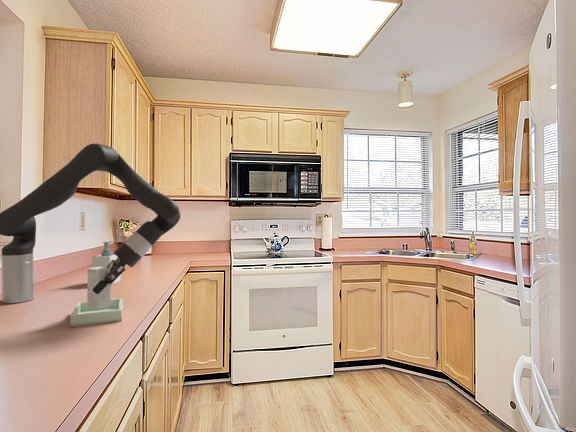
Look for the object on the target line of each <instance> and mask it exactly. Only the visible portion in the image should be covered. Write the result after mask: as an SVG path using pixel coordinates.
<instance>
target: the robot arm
mask: <svg viewBox="0 0 576 432" xmlns="http://www.w3.org/2000/svg"><path fill="white" fill-rule="evenodd" d="M96 171H98V172H99V171H100V172H106V173H109V174H110V175H112V176H113V177H115V178H116V179H118V180H119V181H120V182H121V183H122V184H123V186H124V188H125V190H126V191H127V193H128V194H130V196H131V197H132V198H134V200H136V201H137V202H139V203H140V204H141V205H142V206H144V207H145V208H146V209H150V210H151V211H152V212H153V213H155V215H157V216H156V217H154V218H153V219H152V220H151V221H150V220H147V221H146V222H143V224H142V225H141V226H140V227H139V228H138V229H136V231H135V232H134V233H132V234H131V235H130V236H128V238H126V239H125V240H124V241H123V242H122V243H121V244H120V245H119V247H117V248H116V249H115V250H114V251H113V254H115V255H116V256H117V257H118V258H117V259H116V260H111V262H110V263H109V264H108V265H107V266H106V267H107V268H109V269H108V270H107V271H106V272H105V276H104V277H103V278H102V280H101V281H100V282H99V283H98V284H97V285H96V286H95V287H94V288H93V289H92V290H93V292H95V293H96V294H99V293H100V292H101V291H102V290H103V289H104V288H105V287H106V286H107V284H108V285H109V284H111V285H113V284H112V283H113V282H114V281H115V280H116V279H117V278H118V277H119V276H120V275H121V276H122V274H123V272H125V271H126V268H125V266H126V265H127V266H128V267H130V268H134V267H135V265H136V264H138V262H139V261H140V260H141V259H143V257H144V256H145V255H146V254H147V253H148V252H149V250H150V249H151V248H152V246H154V244H156V242H157V241H158V240H160V238H161V237H162V236H163V235H165V234H166V233H168V232H169V231H170V230H172V229H173V228H174V227H175V226H176V225H177V224H178V223H179V221H180V219H181V212H180V209H179V206H178V205H177V203H176V202H175V201H174V200H173V199H172V198H170V197H168V196H167V195H165V194H163V193H161V192H160V191H159V190H158V189H156V188H155V187H154V186H153V185H152V184H151V183H148V181H146V179H144V178H143V177H142V176H141V175H140V174H138V173H137V172H136V171H135V170H134V168H132V167H131V166H130V165H129V164H128V163H127V162H126V160H125V159H124V158H123V157H122V156H121V155H120V153H118V151H117V150H116V149H115V148H113V147H112V146H110V145H109V146H108V145H107V144H106V145H105V144H101V143H95V142H94V143H90V144H87V145H86V146H85V147H83V148H82V149H81V150H80V151H79V152H78V153H77V154H76V155H75V156H74V157H72V159H71V160H70V161H69V162H68V163H67V164H66V165H64V166H63V167H62V168H61V169H59V170H58V171H57V172H56V173H55V174H53V175H52V176H51V177H49V178H47V179H46V180H45V181H44V182H42V183H41V184H40V185H39V186H37V188H35V189H33V191H31V192H30V193H28V194H26V196H25V197H23V198H22V199H21V200H19V201H18V202H16V203H15V204H12V206H9V207H8V208H6V209H4V210H3V211H2V212H0V235H1V236H3V237H13V238H12V240H11V242H10V243H8V244H6V245H5V246H3V247H2V248H1V278H2V279H1V284H2V286H1V287H2V289H1V292H2V297H1V299H2V300H1V301H2V302H1V303H3V304H17V303H25V302H28V301H31V300H34V296H35V295H34V293H35V289H34V288H35V287H34V285H35V284H34V283H35V282H34V248H35V245H36V237H37V236H36V235H37V221H36V218H35V217H36V216H39V215H41V214H43V213H46V212H49V211H51V210H53V209H56V208H57V207H60V206H62V205H63V204H64V203H65V202H67V201H68V200H70V199H71V198H72V197H73V196H74V195H75V193H76V192H77V190H78V187H79V185H80V182H81V181H82V180H83V179H85V178H86V177H87V176H89V175H90V174H92V173H94V172H96ZM109 277H110V278H109Z"/></svg>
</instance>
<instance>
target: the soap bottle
mask: <svg viewBox="0 0 576 432" xmlns="http://www.w3.org/2000/svg"><path fill="white" fill-rule="evenodd" d="M102 243H103V244H104V249H103V250H102V251H101V253H100V254H97V255H92V256H91V266H92V267H91V268H94V267H106V266H107V265H108V264H109V263H110V262H111V260H116V259H117V258H118V257H117V256H116V255H115V254H114V253H112V251H111V249H109V245H110V244H111V243H113V241H112V240H109V241H103V242H102ZM121 281H122V274H121V275H120V276H119V277H118V278H117V279H116V280H115V281H114V282H113V283H112V284H111V285H114V284H116V283H120V282H121Z"/></svg>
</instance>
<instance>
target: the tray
mask: <svg viewBox="0 0 576 432" xmlns="http://www.w3.org/2000/svg"><path fill="white" fill-rule="evenodd" d="M123 301H124V300H123V298H122V297H121V298H111V306H109V307H106V308H102V309H94V308H90V307H88V306H87V301H79V302H77V303H76V306H75V307H74V309H73V311H72V312H71V314H70V321H69V322H70V328H75V327H77V328H78V327H85V325H86V326H92V325H93V324H94V325H100V324H101V325H102V324H108V323H117V322H122V320H123V310H124V309H123V308H124V307H123V305H124V304H123V303H124V302H123Z"/></svg>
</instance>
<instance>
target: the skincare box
mask: <svg viewBox="0 0 576 432" xmlns="http://www.w3.org/2000/svg"><path fill="white" fill-rule="evenodd" d="M108 269H109V268H107V267H94V268H92V267H90V268H87V286H86V287H87V292H86V293H87V294H86V295H87V298H86V299H87V301H86V302H87V306H88V307H90V308H94V309H102V308H106V307H109V306H111V299H112V298H111V295H112V293H111V291H112V284H109V285H108V284H107V286H106V287H105V288H104V289H103V290H102V291H101V292H100V293H99V294H96V293H95V292H93V290H92V289H93V288H94V287H95V286H96V285H97V284H98V283H99V282H100V281H101V280H102V278H103V277H104V276H105V272H106V271H107V270H108ZM109 278H110V277H109Z"/></svg>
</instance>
